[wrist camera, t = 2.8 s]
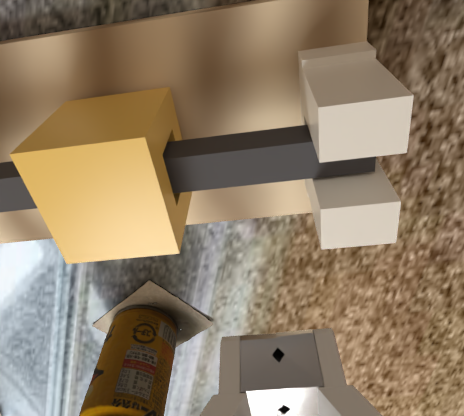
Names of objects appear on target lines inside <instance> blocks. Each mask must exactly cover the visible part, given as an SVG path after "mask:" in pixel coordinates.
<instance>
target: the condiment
mask: <svg viewBox="0 0 464 416" xmlns="http://www.w3.org/2000/svg"><path fill="white" fill-rule="evenodd" d="M149 303H152V304H149ZM153 303H158V304H153ZM212 325H213V323H212V322H211V321H209V320H208V319H207V318H206V317H204V316H203V315H201V314H200V313H199V312H197V311H195V310H194V309H193V308H192V307H190V306H189V305H187V304H186V303H184V302H183V301H181V300H180V299H179V298H178V297H175V296H173V295H172V294H170V293H168V292H167V291H166V290H164V289H163V288H161V287H159V286H158V285H156V284H154V283H153V282H151V281H150V280H149V281H148V282H147V283H145V284H144V285H143V286H142V287H140V288H139V289H138V290H137V291H136V292H134V293H133V294H132V295H130V296H129V297H128V298H127V299H125V300H124V301H122V302H121V303H120V304H118V305H117V306H116V307H114V308H113V309H112V310H111V311H109V312H108V313H107V314H105V315H104V316H103V317H102V318H101V319H99V320H98V321H97V322H96V323H94V324H93V327H95V328H97V329H99V330H101V331H102V332H105V333H106V334H107V336H106V339H105V341H104V345H103V348H102V351H101V354H100V357H99V360H98V363H97V365H96V368H95V370H94V374H93V377H92V380H91V383H90V385H89V388H88V391H87V393H86V396H85V400H84V402H83V405H82V407H81V411H80V415H79V416H164V412H165V405H166V399H167V394H168V388H169V382H170V377H171V371H172V365H173V359H174V354H175V348H176V347H177V346H178V345H180V344H182V343H184V342H185V341H188V340H189V339H190V338H192V337H193V336H195V335H196V334H198V333H200V332H201V331H203V330H205V329H207V328H208V327H210V326H212ZM180 329H182V330H180Z"/></svg>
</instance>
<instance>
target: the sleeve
mask: <svg viewBox="0 0 464 416" xmlns="http://www.w3.org/2000/svg"><path fill="white" fill-rule="evenodd" d="M179 140H182V136H181V132H180V127H179V123H178V119H177V115H176V111H175V106H174V102H173V98H172V94H171V90H170V87H165V88H158V89H151V90H144V91H137V92H129V93H122V94H115V95H108V96H101V97H93V98H86V99H79V100H72V101H66V102H65V103H63V104H62V105H61V106H60V107H59V108H58V109H57V110H56V111H55V112H54V113H53V114H52V115H51V116H50V117H49V118H47V119H46V120H45V121H44V122H43V123H42V124H41V125H40V126H39V127H38V128H37V129H36V130H35V131H34V132H33V133H32V134H30V135H29V136H28V137H27V138H26V139H25V140H24V141H23V142H22V143H21V144H20V145H19V146H18V147H17V148H16V149H14V150H13V151H12V152H11V153H10V154H9V155H10V157H11V158H12V160H13V162H14V164H15V166H16V168H17V170H18V172H19V174H20V176H21V178H22V179H23V181H24V183H25V185H26V187H27V189H28V191H29V193H30V195H31V197H32V198H33V200H34V202H35V204H36V206H37V208H38V210H39V212H40V214H41V216H42V217H43V219H44V221H45V223H46V225H47V227H48V229H49V231H50V233H51V235H52V236H53V238H54V240H55V242H56V244H57V246H58V248H59V250H60V252H61V254H62V255H63V257H64V259H65V261H66V263H67V264H71V263H82V262H93V261H104V260H114V259H125V258H136V257H147V256H158V255H169V254H179V253H180V249H181V244H182V239H183V234H184V229H185V225H186V220H187V215H188V210H189V205H190V201H191V196H192V192H183V193H174V194H173V191H172V188H171V184H170V180H169V177H168V173H167V170H166V166H165V162H164V159H163V152H164V149H165V147H166V144H167V142H171V141H179Z"/></svg>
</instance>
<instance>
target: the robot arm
mask: <svg viewBox="0 0 464 416" xmlns="http://www.w3.org/2000/svg"><path fill="white" fill-rule="evenodd" d="M200 416H382V415H381V414H380V413H379V412H378V411H377V410H376V409H375V408H374V407H373V406H372V405H371V404H370V402H369V401H368V400H367V399H366V398H365V397H364V396H363V395H362V394H361V393H360V392H359V391H358V390H357V389H356V388H355V387H354V386H353V385H347V384H346V380H345V376H344V372H343V368H342V364H341V359H340V355H339V351H338V347H337V343H336V339H335V335H334V332H333V330H332V329H331V328H326V329H316V330H313V331H312V329H310V330H300V331H289V332H279V333H276V334H260V335H244V336H229V337H222V340H221V348H220V373H219V394H218V395H213V396H212V398H211V399H210V401H209V402H208V404H207V405H206V407H205V408H204V410H203V411H202V413H201V414H200Z"/></svg>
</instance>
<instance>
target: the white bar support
mask: <svg viewBox="0 0 464 416" xmlns="http://www.w3.org/2000/svg"><path fill="white" fill-rule="evenodd" d="M298 63H299V84H300V104H301V125H308V128H309V131H310V135H311V138H312V141H313V144H314V147H315V150H316V153H317V157H318V160H319V163H322V162H331V161H339V160H348V159H357V158H366V157H375V156H384V155H393V154H401V153H407V147H408V138H409V130H410V122H411V113H412V105H413V97H414V95H413V94H412V93H411V92H410V91H409V90H408V89H407V88H406V87H405V86H404V85H403V84H402V83H401V82H399V81H398V80H397V79H396V78H395V77H394V76H393V75H392V74H391V73H390V72H389V71H388V70H387V69H386V68H385V67H384V66H383V65H382V64H381V63H380V62H379V61H378V60H377V59H376V49H375V48H374V47H373V46H372V45H371V44H369V43H368V42H367V41H364V42H357V43H350V44H343V45H336V46H329V47H323V48H316V49H309V50H302V51H298ZM304 183H305V187H306V191H307V195H308V197H309V199H310V204H311V208H312V212H313V216H314V221H315V225H316V229H317V233H318V237H319V242H320V246H321V249H333V248H344V247H355V246H366V245H377V244H389V243H396V238H397V230H398V222H399V213H400V205H401V201H400V199H399V197H398V195H397V194H396V192H395V190H394V188H393V187H392V185H391V183H390V182H389V180H388V178H387V176H386V175H385V173H384V171H383V169H382V168H381V166H380V164H379V162H378V161H377V159H376V163H375V172H366V173H357V174H348V175H339V176H330V177H320V178H311V179H304Z"/></svg>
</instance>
